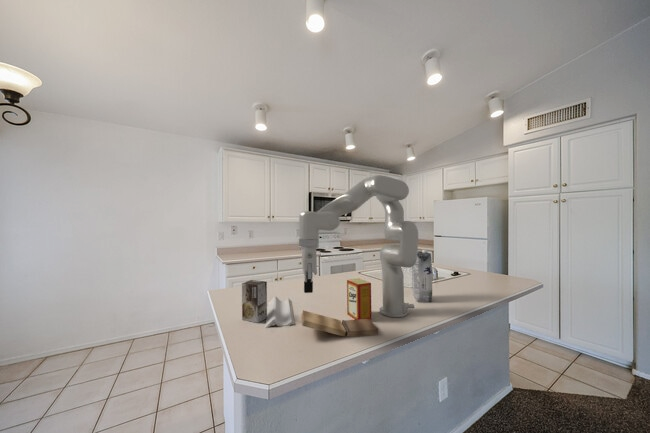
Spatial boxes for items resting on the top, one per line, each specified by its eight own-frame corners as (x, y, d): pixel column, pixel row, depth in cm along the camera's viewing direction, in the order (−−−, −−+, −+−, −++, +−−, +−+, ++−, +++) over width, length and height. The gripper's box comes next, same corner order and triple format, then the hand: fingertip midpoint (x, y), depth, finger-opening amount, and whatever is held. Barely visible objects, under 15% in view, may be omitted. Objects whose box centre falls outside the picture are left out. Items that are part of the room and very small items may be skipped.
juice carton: (415, 302, 124) (414, 250, 125) (411, 296, 135) (410, 248, 136) (433, 303, 123) (432, 250, 124) (428, 297, 133) (427, 248, 134)
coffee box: (267, 317, 106) (267, 281, 107) (257, 323, 100) (257, 284, 101) (251, 314, 110) (251, 279, 111) (241, 320, 104) (241, 282, 105)
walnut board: (369, 323, 99) (369, 318, 99) (377, 334, 89) (377, 328, 89) (341, 325, 97) (341, 320, 97) (347, 337, 87) (347, 330, 88)
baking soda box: (347, 314, 110) (347, 279, 110) (359, 312, 112) (358, 277, 113) (358, 321, 101) (358, 283, 101) (371, 319, 104) (370, 282, 104)
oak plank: (338, 325, 97) (340, 320, 97) (344, 336, 87) (345, 331, 87) (301, 315, 95) (302, 310, 95) (302, 325, 85) (304, 320, 86)
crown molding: (294, 326, 98) (294, 317, 99) (264, 329, 96) (264, 320, 96) (290, 302, 129) (290, 295, 129) (267, 304, 127) (267, 297, 127)
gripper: (320, 245, 85) (320, 297, 84) (316, 242, 99) (316, 287, 99) (299, 245, 84) (299, 298, 83) (298, 242, 98) (297, 287, 98)
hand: (308, 292), depth 91 cm, fingers closed
